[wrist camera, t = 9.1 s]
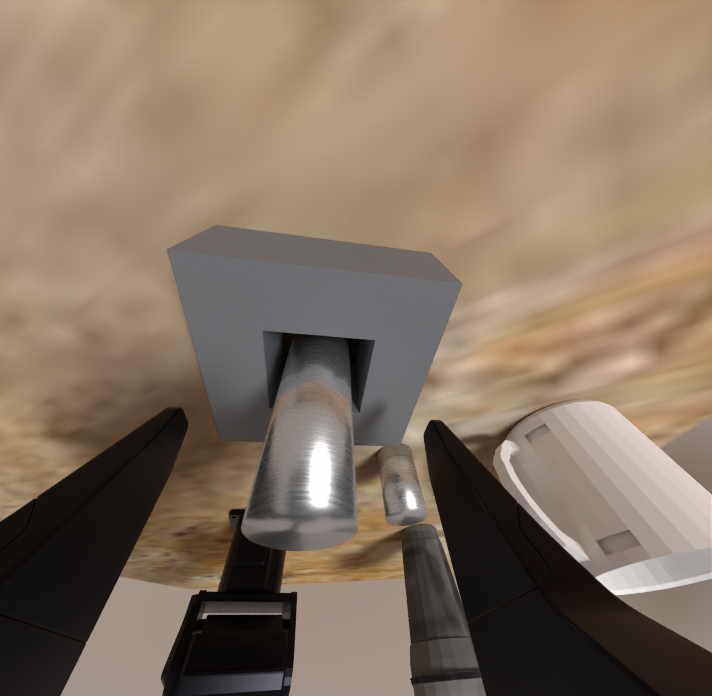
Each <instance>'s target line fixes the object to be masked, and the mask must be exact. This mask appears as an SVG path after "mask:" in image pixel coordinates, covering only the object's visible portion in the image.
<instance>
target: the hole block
mask: <svg viewBox="0 0 712 696" xmlns="http://www.w3.org/2000/svg"><path fill="white" fill-rule="evenodd" d="M167 252H168V255H169V259H170V263H171V266H172V270H173V273H174V277H175V281H176V284H177V288H178V291H179V295H180V299H181V302H182V306H183V310H184V313H185V317H186V320H187V324H188V328H189V331H190V335H191V338H192V342H193V346H194V349H195V353H196V356H197V360H198V364H199V367H200V371H201V375H202V378H203V382H204V385H205V389H206V393H207V396H208V400H209V403H210V407H211V411H212V414H213V418H214V421H215V425H216V429H217V432H218V436H219V440H228V441H256V442H264V441H265V437H266V434H267V430H268V426H269V423H270V419H271V415H272V412H273V408H274V404H275V401H276V397H277V393H278V390H279V386H280V382H281V379H282V375H283V371H284V368H285V364H286V360H287V359H285V358H284V353H283V332H285V333H297V334H309V335H320V336H332V337H344V338H356V339H360V342H359V348H358V354H357V360H356V364H353V363H350V378H351V398H352V419H353V439H354V445H369V446H398V447H399V446H400V444H401V441H402V439H403V436H404V433H405V431H406V428H407V426H408V423H409V421H410V418H411V415H412V413H413V410H414V408H415V405H416V403H417V400H418V397H419V395H420V392H421V390H422V387H423V385H424V382H425V379H426V377H427V374H428V372H429V369H430V367H431V364H432V361H433V359H434V356H435V354H436V351H437V349H438V346H439V343H440V341H441V338H442V336H443V333H444V331H445V328H446V325H447V323H448V320H449V318H450V315H451V313H452V310H453V307H454V305H455V302H456V300H457V297H458V295H459V292H460V289H461V287H462V283H461V282H460V281H459V280H458V279H457V278H456V277H455V276H454V275H453V274H452V273H451V272H450V271H449V270H448V269H447V268H446V267H445V266H444V265H443V264H442V263H441V262H440V261H439V260H437V259H436V258H435V257H434V256H433V255H432V254H431V253H426V252H418V251H411V250H403V249H395V248H387V247H380V246H372V245H364V244H356V243H349V242H341V241H333V240H326V239H318V238H310V237H302V236H295V235H287V234H279V233H272V232H264V231H256V230H248V229H241V228H233V227H225V226H218V225H216V226H214V227H212V228H210V229H208V230H206V231H203V232H201V233H199V234H197V235H195V236H193V237H191V238H189V239H187V240H185V241H183V242H181V243H179V244H177V245H175V246H173V247H171V248H169V249H167Z"/></svg>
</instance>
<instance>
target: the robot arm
mask: <svg viewBox="0 0 712 696" xmlns="http://www.w3.org/2000/svg"><path fill="white" fill-rule="evenodd" d="M187 428H188V421H187V419H186V416H185V413H184V410H183V409H182V408H180V407H168V408H166V409H165V410H163V411H162V412H160V413H159V414H157V415H156V416H154V417H153V418H151V419H150V420H148V421H147V422H146V423H144V424H143V425H141V426H140V427H138V428H137V429H135V430H134V431H132V432H131V433H130V434H128V435H127V436H125V437H124V438H122V439H121V440H119V441H118V442H116V443H115V444H113V445H112V446H111V447H109V448H108V449H106V450H105V451H103V452H102V453H100V454H99V455H97V456H96V457H95V458H93V459H92V460H90V461H89V462H87V463H86V464H84V465H83V466H81V467H80V468H78V469H77V470H76V471H74V472H73V473H71V474H70V475H68V476H67V477H65V478H64V479H62V480H61V481H59V482H58V483H57V484H55V485H54V486H52V487H51V488H49V489H48V490H46V491H45V492H43V493H42V494H41V495H39V496H38V497H37V499H33V500H32V501H30V502H29V503H27V504H26V505H24V506H23V507H21V508H20V509H18V510H17V511H16V512H14V513H13V514H11V515H10V516H8V517H7V518H5V519H4V520H2V521H1V522H0V696H60V695H61V693H62V691H63V689H64V687H65V685H66V683H67V681H68V679H69V677H70V675H71V673H72V671H73V669H74V667H75V665H76V663H77V661H78V659H79V657H80V655H81V653H82V651H83V649H84V647H85V645H86V642H87V641H88V639H89V637H90V635H91V632H92V630H93V629H94V626H95V625H96V622H97V621H98V619H99V617H100V615H101V612H102V610H103V608H104V606H105V604H106V602H107V600H108V598H109V596H110V594H111V592H112V590H113V588H114V586H115V584H116V582H117V580H118V578H119V576H120V574H121V572H122V570H123V568H124V566H125V564H126V562H127V560H128V558H129V556H130V554H131V552H132V550H133V548H134V546H135V544H136V542H137V540H138V538H139V536H140V534H141V532H142V530H143V528H144V526H145V524H146V522H147V520H148V518H149V516H150V514H151V512H152V510H153V508H154V506H155V504H156V502H157V500H158V498H159V496H160V494H161V492H162V490H163V488H164V486H165V484H166V482H167V480H168V478H169V476H170V474H171V471H172V469H173V466H174V464H175V461H176V458H177V456H178V453H179V450H180V448H181V445H182V442H183V440H184V437H185V434H186V431H187ZM424 443H425V450H426V457H427V463H428V470H429V476H430V481H431V485H432V489H433V492H434V496H435V500H436V504H437V508H438V512H439V516H440V520H441V523H442V527H443V531H444V535H445V539H446V543H447V547H448V550H449V554H450V558H451V562H452V566H453V570H454V574H455V577H456V581H457V585H458V589H459V593H460V596H461V601H462V604H463V608H464V612H465V616H466V620H467V623H468V628H469V632H470V636H471V640H472V644H473V648H474V651H475V655H476V659H477V663H478V667H479V671H480V675H481V678H482V682H483V686H484V690H485V694H486V696H712V653H711V652H710V651H708V650H706V649H704V648H702V647H701V646H699V645H697V644H695V643H693V642H692V641H690V640H688V639H686V638H684V637H682V636H681V635H679V634H677V633H676V632H674V631H672V630H670V629H668V628H667V627H665V626H663V625H661V624H659V623H658V622H656V621H654V620H652V619H651V618H649V617H647V616H645V615H643V614H642V613H640V612H638V611H637V610H635V609H633V608H632V607H630V606H629V605H627V604H626V603H625V602H623V601H622V600H620V599H619V598H618V597H617V596H615V595H614V594H613V593H612V592H611V591H609V590H608V589H607V588H606V587H605V586H604V585H603V584H602V583H601V582H599V581H598V580H597V579H596V578H595V577H594V576H593V575H592V574H591V573H590V572H589V571H588V570H587V569H586V568H585V567H583V566H582V565H581V564H580V563H579V562H578V561H577V560H576V559H575V558H574V557H573V556H572V555H571V554H570V553H569V552H567V551H566V550H565V549H564V548H563V547H562V546H561V545H560V544H559V543H558V542H557V541H556V540H555V539H554V538H553V537H552V536H551V535H550V534H549V533H548V532H547V531H546V530H544V529H543V527H542V526H541V525H540V524H539V523H538V522H537V521H536V520H535V519H534V518H533V517H532V516H531V515H530V514H529V513H528V512H527V511H526V510H525V509H524V508H523V507H522V506H521V505H520V504H519V503H517V500H516V499H515V498H514V497H513V496H512V495H511V494H510V493H509V492H508V491H507V490H506V489H505V488H504V487H503V486H502V485H501V483H500V482H499V481H498V480H497V479H496V478H495V477H494V476H493V475H492V474H491V473H490V472H489V471H488V470H487V469H486V468H485V466H484V465H483V464H482V463H481V462H480V461H479V460H478V459H477V458H476V457H475V456H474V455H473V454H472V453H471V452H470V450H469V449H468V448H467V447H466V446H465V445H464V444H463V443H462V442H461V441H460V440H459V439H458V438H457V437H456V436H455V435H454V433H453V432H452V431H451V430H450V429H449V428H448V427H447V426H446V425H445V424H444V423H443V422H442V421H440V420H431V421H429V423H428V426H427V428H426V430H425V432H424ZM244 514H245V511H231V512H230V514H229V520H230V523H231V525H232V528H233V531H234V535H233V539H232V542H231V546H230V549H229V553H228V556H227V560H226V563H225V566H224V570H223V573H222V577H221V580H220V584H219V587H218V591H217V592H207V591H206V590H200V592H199V594H196V595H192V597H191V600H190V603H189V606H188V609H187V612H186V614H185V617H184V620H183V623H182V625H181V628H180V630H179V633H178V635H177V638H176V640H175V643H174V645H173V647H172V650H171V652H170V655H169V657H168V659H167V662H166V664H165V667H164V669H163V672H162V675H161V681H162V684H163V686H164V690H163V694H162V696H288V695H289V691H290V686H291V679H292V672H293V661H294V647H295V646H294V645H295V626H296V607H297V606H296V605H297V592H291V593H280V590H281V583H282V576H283V569H284V561H285V554H286V550H278V549H272V548H268V547H264V546H261V545H259V544H256V543H254V542H252V541H250V540H249V539H248V538H246V537H245V536H244V534H243V533H242V531H241V526H242V522H243V518H244ZM203 613H282V615H208V616H207V618H206V619H202V616H203Z"/></svg>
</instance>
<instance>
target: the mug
mask: <svg viewBox="0 0 712 696" xmlns="http://www.w3.org/2000/svg"><path fill="white" fill-rule="evenodd" d="M493 459H494V460H493V462H492V463H493V465H494V468H495V470H496V472H497V474H498V477H499V479H500V481H501V483H502V485H503V487H504V488H505V489H506V490H507V491H508V492H509V493H510V494H511V495H512V496H513V497H514V498H515V499H516V500H517V503H519V504H520V505H521V506H522V507H523V508H524V509H525V510H526V511H527V512H528V513H529V514H530V515H531V516H532V517H533V518H534V519H535V520H536V521H537V522H538V523H539V524H540V525H541V526H542V527H543V529H544V530H546V531H547V532H548V533H549V534H550V535H551V536H552V537H553V538H554V539H555V540H556V541H557V542H558V543H559V544H560V545H561V546H562V547H563V548H564V549H565V550H566V551H567V552H569V553H570V554H571V555H572V556H573V557H574V558H575V559H576V560H577V561H578V562H579V563H580V564H581V565H582V566H583V567H585V568H586V569H587V570H588V571H589V572H590V573H591V574H592V575H593V576H594V577H595V578H596V579H597V580H598V581H599V582H601V583H602V584H603V585H604V586H605V587H606V588H607V589H608V590H609V591H611V592H612V593H613V594H614V595H621V594H633V593H640V592H648V591H654V590H661V589H666V588H671V587H677V586H682V585H686V584H691V583H695V582H699V581H703V580H707V579H711V578H712V495H711V494H710V493H709V492H708V491H707V490H706V489H704V488H703V487H702V486H701V485H700V484H699V483H698V482H697V481H696V480H694V479H693V478H692V477H691V476H690V475H689V474H688V473H686V472H685V471H684V470H683V469H682V468H681V467H680V466H679V465H678V464H676V463H675V462H674V461H673V460H672V459H671V458H670V457H669V456H667V455H666V454H665V453H664V452H663V451H662V450H661V449H660V448H659V447H657V446H656V445H655V444H654V443H653V442H652V441H651V440H650V439H648V438H647V437H646V436H645V435H644V434H643V433H642V432H641V431H639V430H638V429H637V428H636V427H635V426H634V425H633V424H632V423H630V422H629V421H628V420H627V419H626V418H625V417H624V416H623V415H621V414H620V413H619V412H618V411H617V410H616V409H615V408H614V407H612V406H610V405H608V404H606V403H603V402H599V401H595V400H587V399H579V400H570V401H565V402H561V403H557V404H554V405H551V406H548V407H545V408H543V409H541V410H539V411H536V412H535V413H533V414H531V415H529V416H528V417H526V418H525V419H523V420H522V421H521V422H519V423H518V424H517V425H516V426H515V427H514V428H513V429H512V430H511V431H510V432H509V434H508V435H507V437H506V439H505V440H504V441H503V442H502V444H501V445H500V446H499V447H498V448H496V449H495V456H494V457H493Z"/></svg>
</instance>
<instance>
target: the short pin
mask: <svg viewBox="0 0 712 696" xmlns="http://www.w3.org/2000/svg"><path fill="white" fill-rule="evenodd" d="M377 455H378V463H379V471H380V479H381V487H382V494H383V502H384V510H385V518H386V521H387V522H388V523H389V524H392V525H397V526H406V525H412V524H416V523H419V522H421V521H423V520H424V519H425V518H426V517H427V511H426V507H425V503H424V499H423V495H422V491H421V487H420V483H419V479H418V475H417V471H416V467H415V463H414V459H413V455H412V451H411V448H410V447H409V446H407V445H405V444H400V446H399V447H398V446H384V447H382V448H381V449H380V450H379V451H378V454H377Z"/></svg>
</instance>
